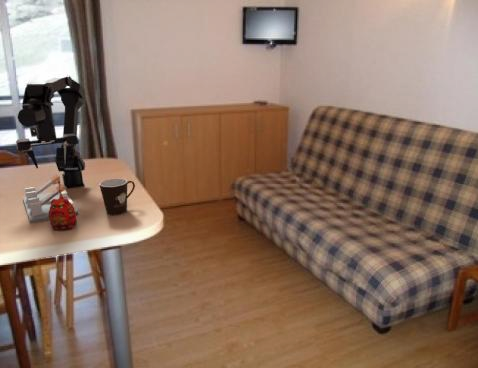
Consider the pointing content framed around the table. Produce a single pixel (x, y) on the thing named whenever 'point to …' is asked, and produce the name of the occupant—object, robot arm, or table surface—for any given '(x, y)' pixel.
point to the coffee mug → (115, 195)
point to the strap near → (52, 195)
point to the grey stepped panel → (35, 208)
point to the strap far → (47, 184)
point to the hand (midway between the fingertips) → (51, 166)
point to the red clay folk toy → (61, 212)
